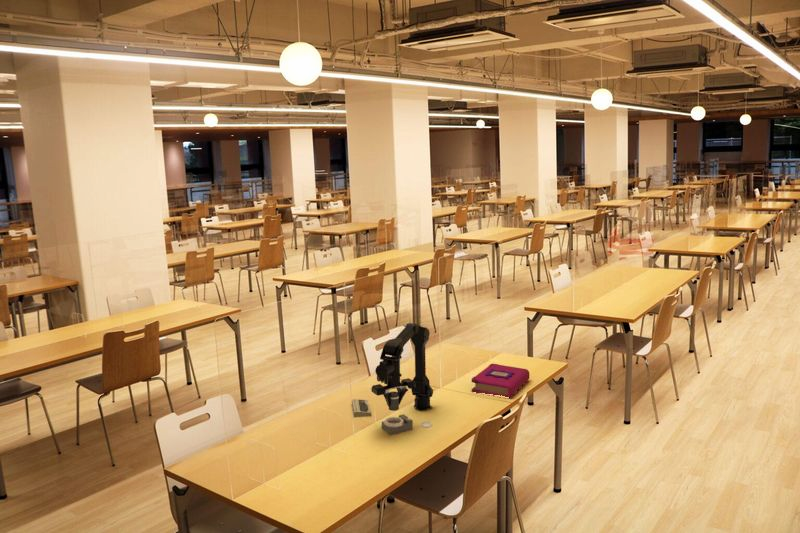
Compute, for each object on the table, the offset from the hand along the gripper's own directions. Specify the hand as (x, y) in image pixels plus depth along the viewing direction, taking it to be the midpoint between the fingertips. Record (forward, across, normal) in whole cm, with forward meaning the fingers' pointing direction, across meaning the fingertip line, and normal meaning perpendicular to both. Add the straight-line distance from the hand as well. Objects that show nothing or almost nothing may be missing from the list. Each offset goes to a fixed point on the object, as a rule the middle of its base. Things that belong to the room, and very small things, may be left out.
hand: (393, 405), depth 295 cm
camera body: (+11, -2, 0) cm, 11 cm away
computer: (+12, +3, -27) cm, 30 cm away
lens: (+2, 0, 0) cm, 2 cm away
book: (+12, -72, -18) cm, 75 cm away
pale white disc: (+11, -14, +3) cm, 19 cm away
